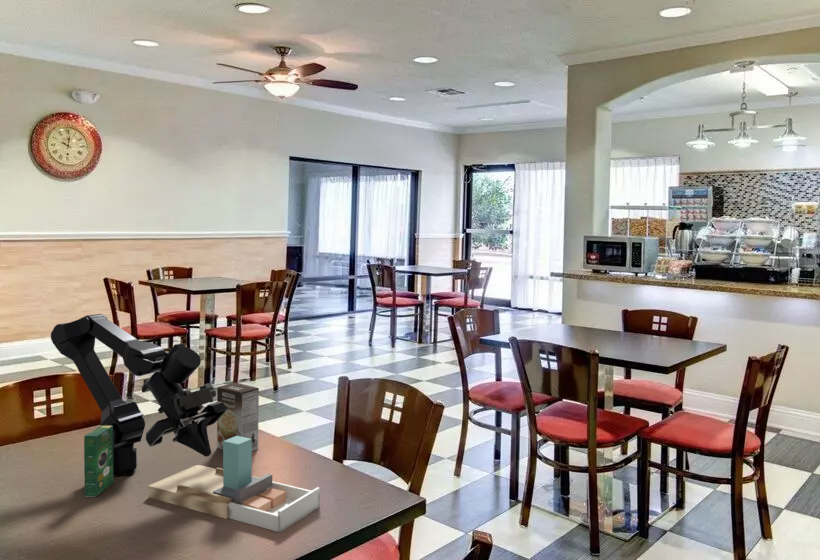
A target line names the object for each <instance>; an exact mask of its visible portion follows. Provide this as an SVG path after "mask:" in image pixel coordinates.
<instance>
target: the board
mask: <svg viewBox="0 0 820 560" xmlns="http://www.w3.org/2000/svg"><path fill="white" fill-rule="evenodd" d="M252 477H256V478H261V477H260V476H255V475H252ZM221 487H223V468H222V467H216V468H214V467H208V466H204V465H201V464H195V465H193V466H191V467H189V468H186V469H183V470H182V471H179V472H177V473H175V474H172V475H170V476H167V477H164V478H163V479H161V480H158V481H156V482H153V483H151V484H149V485H148V487H147V489H148V491H147V495H148V498H150V499H153V500H157V501H160V502H165V503H168V504H172V505H175V506H179V507H182V508H185V509H190V510H192V511H196V512H200V513H203V514H207V515H211V516H214V517H218V518H220V519H225V520H226V519H229V503H231V502H232V498H229V497H225V496H221V495H217V494H213V491H215V490H217V489H219V488H221ZM232 503H236V502H232ZM236 504H238V503H236Z"/></svg>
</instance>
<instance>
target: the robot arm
mask: <svg viewBox="0 0 820 560" xmlns="http://www.w3.org/2000/svg"><path fill="white" fill-rule="evenodd" d="M50 340H51V342H52V344H53V346H54V347H55V348H56V350H57V351H58V352H59V353H60V354H61V355H63V356H64V357H66V358H67V359H69V360H71V361H72V362H73V363H74V365H75V367H76V368H77V370H78V372H79V374H80V376H81V377H82V379H83V381H84V383H85V385H86V387H87V388H88V390H89V392H90V393H91V395H92V398H93V399H94V401H95V402H96V403H97V406H98V407H99V410H100V411H101V415H100V416H101V417H100V423H99V424H100V426H102V425H110V426H113V477H118V476H119V477H120V476H131V475H134V473H135V470H136V469H137V467H138V449H137V448H136V447H135V444H136V443H140V442H141V441H142V439H143V438H142V437H143V434H144V431H145V427H146V422H145V418H144V417H143V416H145V415H144V413H143V412H142V411H141V409H139V405H138V404H137V402H136V401H134V400H133V401H129V402H127V401H125V400H124V399H123V397H122V396H121V394H120V393H119V391H118V389H117V387H116V386H115V384H114V382H113V381H112V379H111V377H110V375H109V374H108V372H107V370H106V368H105V367H104V365H103V363H102V362H101V359H100V358H99V355H97V353H96V351H95V345H96V340H98V341H99V342H101V343H102V344H103V345H105V346H106V347H108V348H109V349H110V350H112V351H113V352H115V353H116V355H117V354H118V355H119V356H120V357H121V358H122V361H123V365H124V366H125V368H127V370H129V372H130V373H132V375H134V376H135V377H143V376H146V375H150V374H152V375H151V376H150V377H149V378H146V379H143V384H142V387H141V393H147V392H151V394H152V396H153V397H154V398H155V400H156V402H157V403H158V405H159V407H158V409H157V411H158V413H159V414H165V416H166V418H162V419H160V420H157V421H156V422H155V423H154V424H153V425H152V426H151V427H150V429H149V430H148V431H147V432H146V433H145V441H146V442H147V445H148V446H149V447H151V448H152V447H154V446H156V445H160V444H161V443H162V442H163V439H164V437H163V436H165V435H169V434H171V433H173V435H174V436H175V437H173V439H172V440H171V441H172V442H173V443H176V442H177V443H179V444H182V445H183V446H185V447H188V448H189V449H192V450H193V451H195V452H197V453H199V454H200V455H202V456H203V457H205V458H206V457H207V458H208V457H210V456H211V454H212V450H211V449H212V448H211V446H210V440H209V435H208V427H209V426H212V425H214V424H216V423H217V420H218V419H219V418H220V417H221V416H222V415H223V414H224V413H225V412H226V411H227V408H226V406H225V405H224V403H223V402H219V401H218V402H217V401H216V402H214V398H215V397H216V396H217V391H216V389H215V387H214V386H213V385H212V384H211V383H206V384H204V385H201V386H199V390H195V391H191V390H190V389H186V390H184V389H183V386H182V385H181V384H183V383H185V382H186V381H187V380H188V379H189V377H191V375H192V374H193V373H194V372H195V371H196V370H197V369H198V368H199V366H201V362H202V360H201V356H200V355H199V353H198V352H196V351H194V350H193V349H192V348H190V347H186V346H185V345H184V343H182V342H181V343H176V344H174V345H173V346H172V348H171V349H170V351H168V352H167V351H165V349H164V348H163V347H162V346H159V345H158V344H155V343H152V342H149V341H143V340H139V339H137V338H136V337H134V336H133V335H132V334H130V333H128V332H127V331H125V330H124V329H122V328H121V327H120V326H118V325H117V324H115V323H114V322H112V321H111V320H110V319H108V317H107V316H106V315H105V314H103V313H98V314H89V315H84V316H83V317H80V318H79V319H76V320H73V321H69V322H65V323H63V322H62V323H57V324H55V326H53V329H52V330H51V332H50ZM208 403H209V404H208ZM206 404H207V405H206ZM203 405H206V406H205V408H204V407H203ZM201 410H202V411H201ZM199 411H200V412H199Z"/></svg>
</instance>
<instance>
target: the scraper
mask: <svg viewBox="0 0 820 560" xmlns="http://www.w3.org/2000/svg"><path fill="white" fill-rule="evenodd" d="M252 452H253V451H252V439H250V438H245V437H240V436H235V437H232V438H230V439H227V440H225V441H223V450H222V454H223V455H222V457H223V459H222V467H223V468H222V469H223V487H221V488H219V489H217V490H215V491H213V494H217V495H221V496H225V497H229V498H232V502H236V503H242V502H243V501H245V500H247V499H249V498H251V497H253V496H254V495H257V494H259V493H261V492H262V491H264V490H266V489H268V488H270V487H272V481H273V474H271V473H267V474H265V475H263V476H261V477H260V478H256V477H257V476H256V477H252V476H253V475H252V470H253V469H252V467H253V466H252V465H253V464H252V462H253V461H252V458H253V457H252V456H253V455H252Z"/></svg>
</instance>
